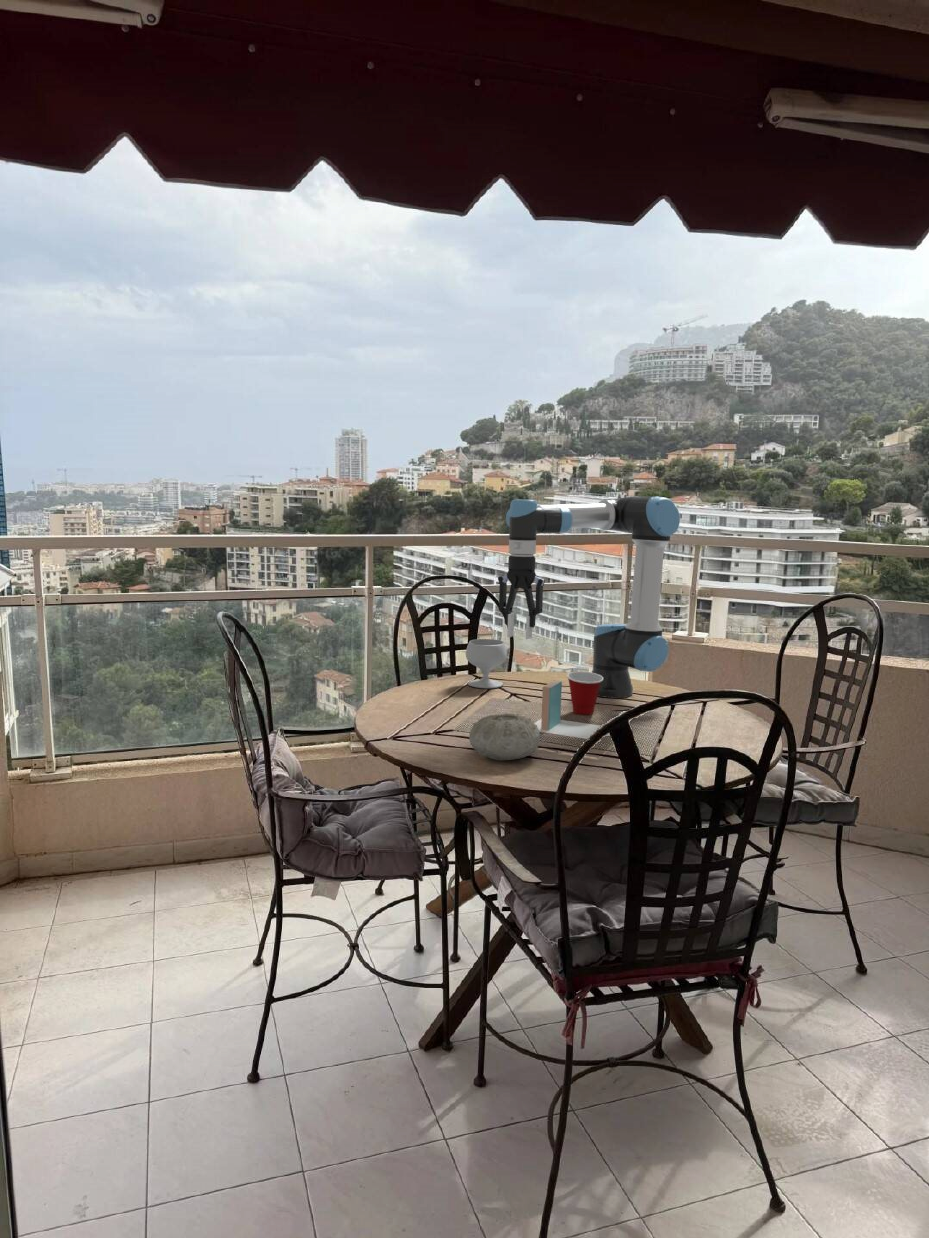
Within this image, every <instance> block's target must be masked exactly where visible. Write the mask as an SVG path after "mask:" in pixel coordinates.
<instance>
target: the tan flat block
mask: <svg viewBox="0 0 929 1238" xmlns="http://www.w3.org/2000/svg"><path fill="white" fill-rule="evenodd" d="M562 683H563V681H562V680H561V681H560V680H556V679H555V680H554V679H553V680H552V681H550V682H549V683H547V684H545V685H544V686H542V691H541V692H542V694H541V695H542V696H541V697H542V699H541V718H542V721H541V729H544V730H550V729H552V728H553V727H555V726H556V725H557V724H559V723H560V720H561V710H562V709H561V708H562V689H563V688H562V687H563V685H562Z"/></svg>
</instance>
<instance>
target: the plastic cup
mask: <svg viewBox="0 0 929 1238" xmlns="http://www.w3.org/2000/svg"><path fill="white" fill-rule="evenodd" d="M566 678H567V679H568V684H569V691H570V692H569V693H570V701H571V705H572V713H574V714H575V715H580V716H590V715H593V714H594V711H595V706H596V703H597V699H598V696H597V695H598V690H599V687H600V684H601V682H602V681H603V677H602V676H601V675H598V674H596V673H592V671H591V672H589V671H584V670H583V671H571V672H568V673H567V675H566Z"/></svg>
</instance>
